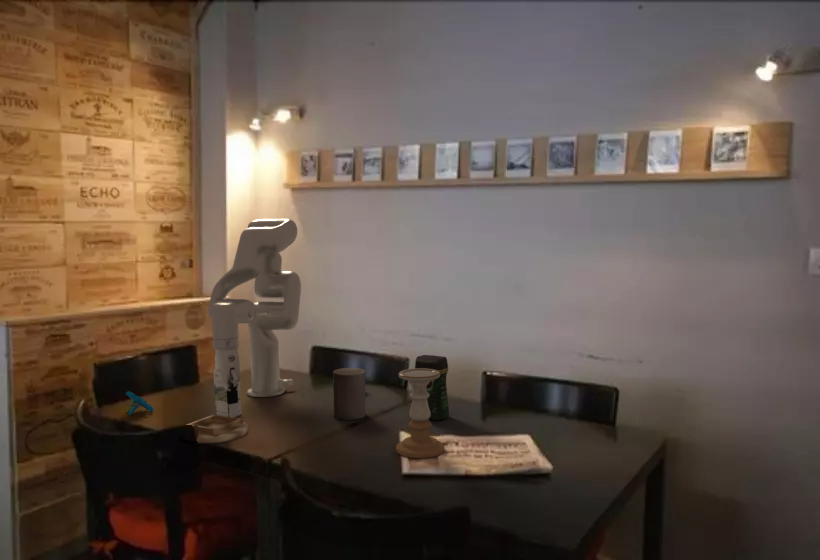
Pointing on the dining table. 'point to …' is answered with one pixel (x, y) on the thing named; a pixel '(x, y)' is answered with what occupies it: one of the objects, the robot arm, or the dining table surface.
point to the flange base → (219, 429)
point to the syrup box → (225, 397)
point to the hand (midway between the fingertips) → (227, 400)
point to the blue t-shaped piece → (137, 403)
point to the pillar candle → (349, 393)
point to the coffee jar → (436, 385)
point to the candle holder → (419, 417)
